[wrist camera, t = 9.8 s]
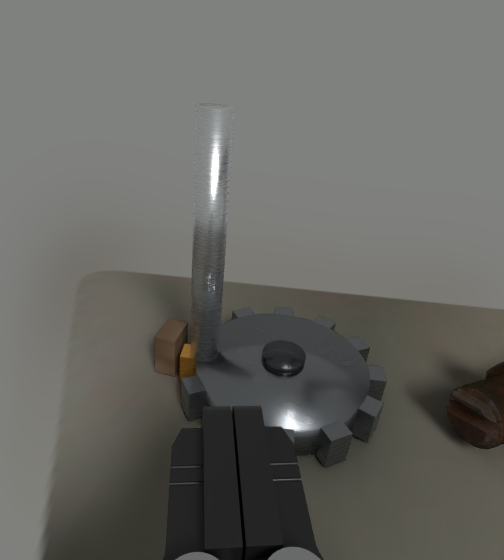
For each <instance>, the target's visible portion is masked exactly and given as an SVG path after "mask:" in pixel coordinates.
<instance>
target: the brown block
mask: <svg viewBox="0 0 504 560" xmlns="http://www.w3.org/2000/svg"><path fill="white" fill-rule="evenodd" d="M187 339H188V322H183V321H179V320H174V319H168V320H167V322H166V323H165V324H164V326H163V327H162V328H161V329H160V331H159V332H158V333H157V335H156V336H155V372H158V373H163V374H167V375H171V376H175V375H176V373H177V372H178V370H179V368H180V355H181V352H182V349H183V347H184V344H187Z"/></svg>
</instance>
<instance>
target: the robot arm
mask: <svg viewBox="0 0 504 560" xmlns="http://www.w3.org/2000/svg"><path fill="white" fill-rule="evenodd" d="M163 560H324V559H323V558H322V556H321V555H320V553H319V551H318V549H317V546H316V543H315V540H314V535H313V531H312V526H311V522H310V517H309V513H308V508H307V504H306V499H305V494H304V490H303V485H302V481H301V476H300V472H299V467H298V465H297V458H296V454H295V449H294V445H293V442H292V441H291V439H290V438H289V436H288V435H287V434H286V432H285V431H284V429H283V428H282V427H281V426H276V427H265V425H264V419H263V413H262V408H261V406H233V407H232V410H231V406H203V413H202V428H182V429H181V431H180V433H179V434H178V436H177V438H176V440H175V442H174V443H173V445H172V457H171V473H170V489H169V504H168V520H167V536H166V550H165V556H164V559H163Z"/></svg>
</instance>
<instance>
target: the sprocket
mask: <svg viewBox="0 0 504 560" xmlns="http://www.w3.org/2000/svg"><path fill="white" fill-rule="evenodd" d="M233 123H234V107H231V106H227V105H221V104H209V103H208V104H197V105H196V132H195V133H196V134H195V170H194V171H195V172H194V212H193V250H192V252H193V253H192V290H191V330H190V344H184V347H183V349H182V352H181V355H180V382H181V405H182V408H183V410H184V412H185V414H186V416H187V419H188V421H189V420H192V419H196V418H200V417H202V413H203V406H231V410H232V407H233V406H261V408H262V413H263V419H264V425H265V427H276V426H281V427H282V428H283V429H284V431H285V432H286V434H287V435H288V436H289V438H290V439H291V441H292V442H293V445H294V449H295V454H296V456H298V455H307V454H314V453H315V454H316V456H317V457H318V459H319V460H320V462H321V463H322V464H323V466H324V467H328V466H331V465H333V464H336V463H339V462H341V461H344V460H346V456H347V452H348V449H349V445H350V442H351V438H352V435H354V436H356V437H358V438H360V439H362V440H364V441H365V442H368V441H369V439H370V437H371V436H372V434H373V432H374V431H375V429H376V426H377V423H378V420H379V417H380V413H381V410H382V407H383V404H384V403H382V402H380V401H381V398H382V395H383V391H384V388H385V385H386V382H387V381H386V378H385V374H384V370H383V367H378V366H369V365H367V364H366V360H367V357H368V353H369V349H370V347H369V346H368V345H367V344H365V343H364V342H363V341H362V340H361V339H360V338H359V337H358V336H356V337H352V338H348V339H345V338H344V337H342V336H341V335H340V334H338V333H337V332H335V331H334V328H335V324H336V322H333V321H331V320H329V319H326V318H324V317H321V316H318V317H317V318H316V319H315V320H314V321H310V320H307V319H304V318H299V317H295V316H293V309H291V308H282V307H275V313H274V314H257V315H255V314H254V313H253V311H252V310H251V309H250V308H244V309H238V310H233V311H232V320H231V321H228V322H226V323H224V324H221V310H222V295H223V278H224V264H225V248H226V232H227V217H228V216H227V215H228V201H229V186H230V170H231V154H232V139H233Z"/></svg>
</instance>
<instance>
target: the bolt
mask: <svg viewBox="0 0 504 560" xmlns="http://www.w3.org/2000/svg"><path fill="white" fill-rule="evenodd" d="M450 397H451V398H453V399H454V400H450V402H449V406H447V413H448V418H449V421H450V422H451V423H452V425H453V426H454V428H455V429H456V430H457V432H458V433H459V434H460V435H461V436H462V437H463V438H464V439H465V440H467V441H468V442H469V443H470V444H471V445H473V446H475V447H477V448H481V449H490V448H494V447H496V446H499V445H501V444H504V362H502V363H500V364H498V365H496V366H494V367H493V368H491V369H489V370H488V371H487V373H486V379H485V380H480V381H477V382H474V383H471V384H466V385H463V386H462V387H457V388H456V389H455V390H454V391H453V392H452V394H451V395H450Z"/></svg>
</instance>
